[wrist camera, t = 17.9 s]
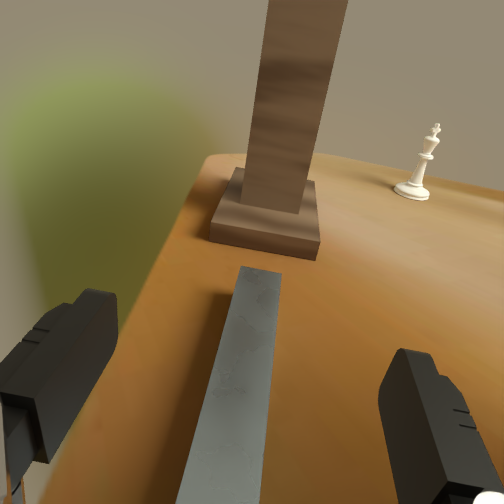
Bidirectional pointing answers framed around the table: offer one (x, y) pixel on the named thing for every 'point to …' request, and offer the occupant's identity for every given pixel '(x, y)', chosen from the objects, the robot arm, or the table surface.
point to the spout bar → (236, 399)
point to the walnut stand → (283, 134)
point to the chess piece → (419, 170)
